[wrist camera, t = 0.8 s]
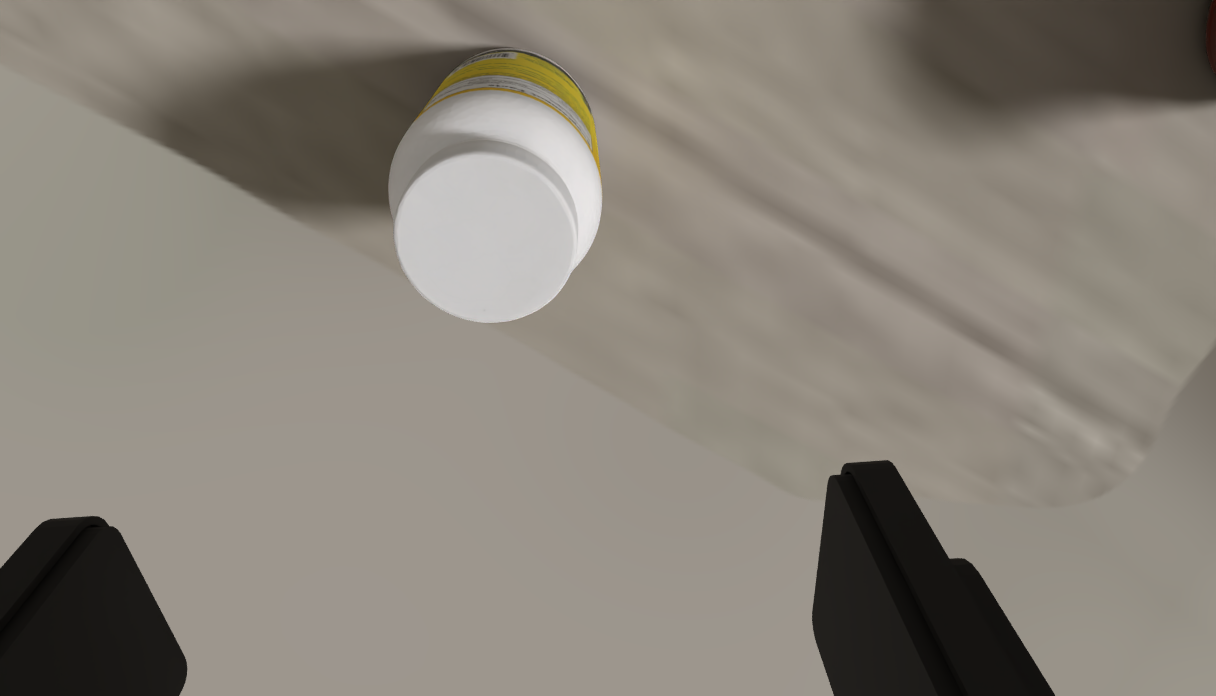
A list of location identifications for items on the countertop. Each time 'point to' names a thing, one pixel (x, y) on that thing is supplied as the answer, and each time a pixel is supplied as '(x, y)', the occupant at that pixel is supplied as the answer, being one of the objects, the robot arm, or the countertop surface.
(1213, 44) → the mug
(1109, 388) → the countertop surface
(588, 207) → the pill bottle
